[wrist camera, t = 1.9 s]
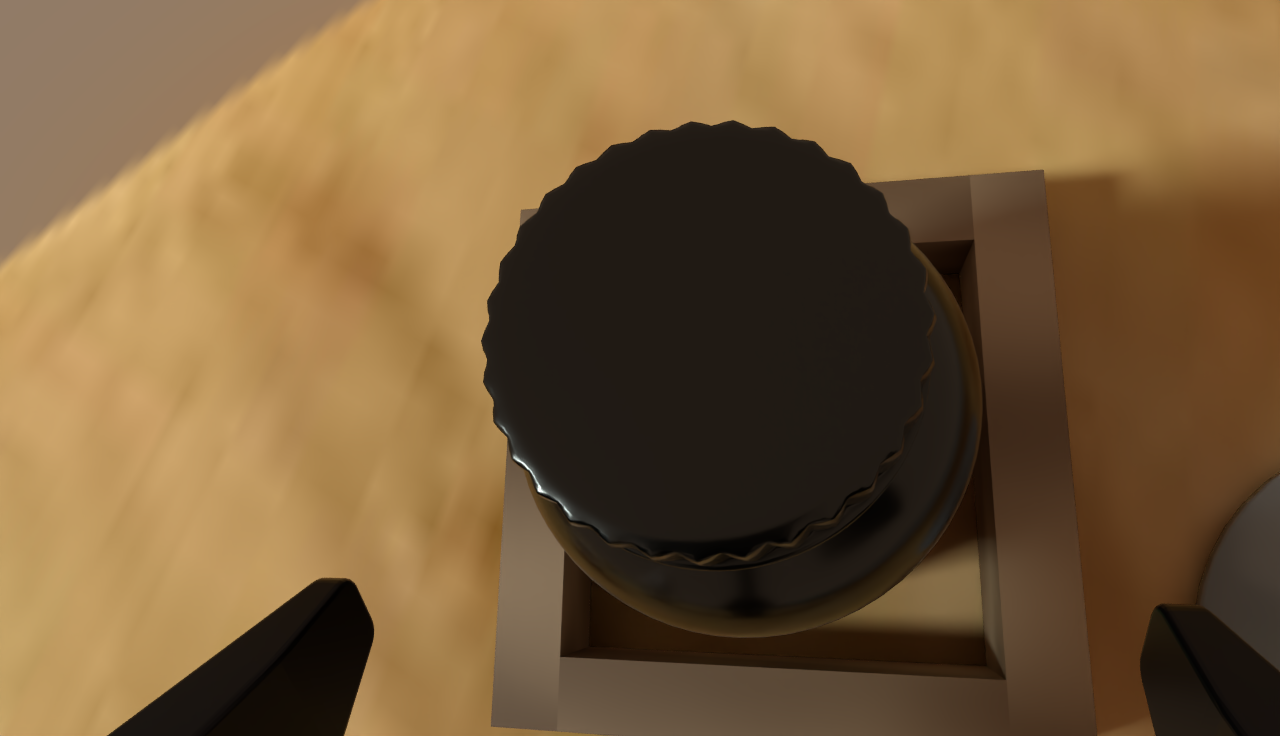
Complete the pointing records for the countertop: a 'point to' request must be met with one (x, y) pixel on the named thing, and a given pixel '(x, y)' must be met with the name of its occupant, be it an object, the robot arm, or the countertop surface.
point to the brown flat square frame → (844, 688)
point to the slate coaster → (1249, 572)
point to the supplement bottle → (732, 381)
